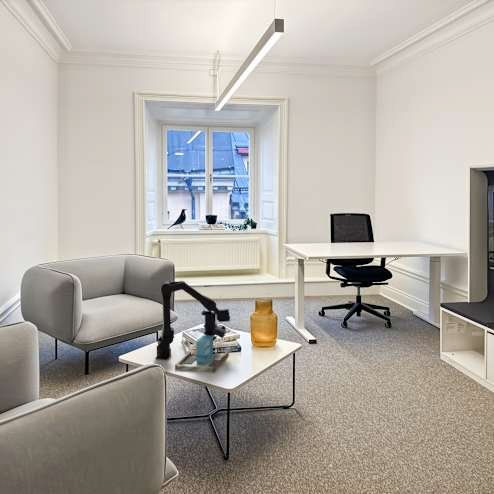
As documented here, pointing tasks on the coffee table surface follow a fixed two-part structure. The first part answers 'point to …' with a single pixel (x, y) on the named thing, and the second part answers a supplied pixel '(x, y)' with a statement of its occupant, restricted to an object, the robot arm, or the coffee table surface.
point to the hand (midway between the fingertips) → (210, 350)
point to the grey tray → (196, 368)
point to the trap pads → (192, 359)
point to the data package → (204, 349)
